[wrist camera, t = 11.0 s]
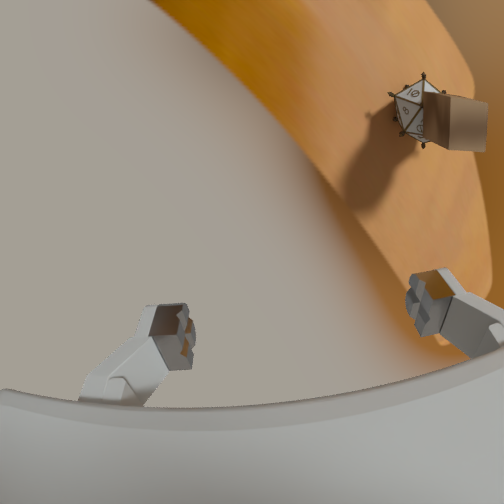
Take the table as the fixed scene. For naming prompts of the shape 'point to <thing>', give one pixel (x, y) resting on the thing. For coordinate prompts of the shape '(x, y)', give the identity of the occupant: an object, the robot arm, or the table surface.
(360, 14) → the table surface
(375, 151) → the table surface
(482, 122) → the walnut cube
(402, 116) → the game die
